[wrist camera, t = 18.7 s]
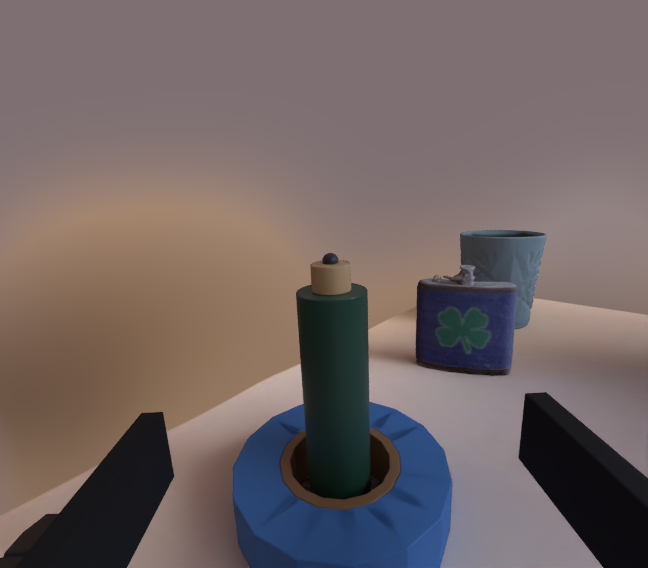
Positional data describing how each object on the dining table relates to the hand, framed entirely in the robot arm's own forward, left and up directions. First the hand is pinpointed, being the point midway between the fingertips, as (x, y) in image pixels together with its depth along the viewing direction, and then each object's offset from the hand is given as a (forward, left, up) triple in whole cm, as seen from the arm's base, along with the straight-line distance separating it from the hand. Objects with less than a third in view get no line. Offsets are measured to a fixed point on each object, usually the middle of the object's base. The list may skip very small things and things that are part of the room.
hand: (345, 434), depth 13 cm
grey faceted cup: (-39, -15, -9) cm, 43 cm away
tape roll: (-3, -5, -9) cm, 11 cm away
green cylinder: (-3, -5, -9) cm, 11 cm away
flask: (-23, -10, -9) cm, 27 cm away
